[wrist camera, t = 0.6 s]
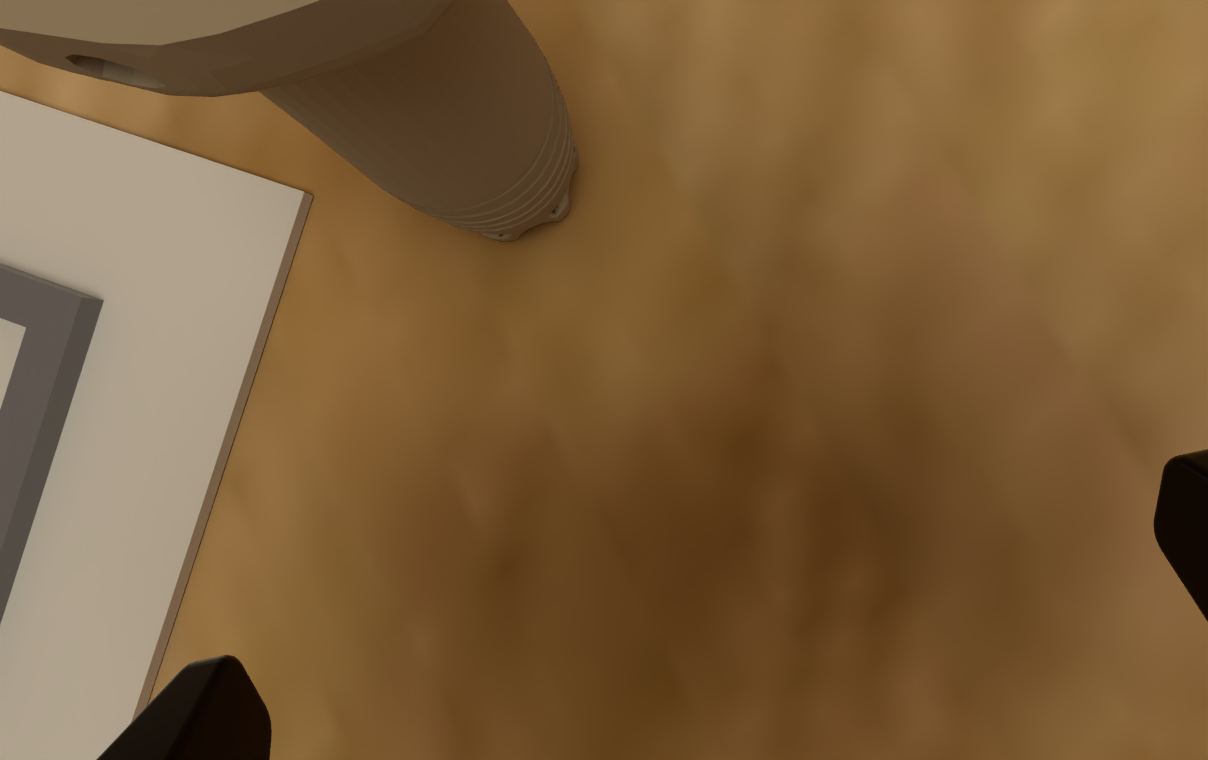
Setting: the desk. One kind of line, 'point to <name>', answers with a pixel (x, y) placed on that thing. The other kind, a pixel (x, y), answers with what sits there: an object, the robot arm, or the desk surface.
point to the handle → (350, 87)
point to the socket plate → (115, 404)
